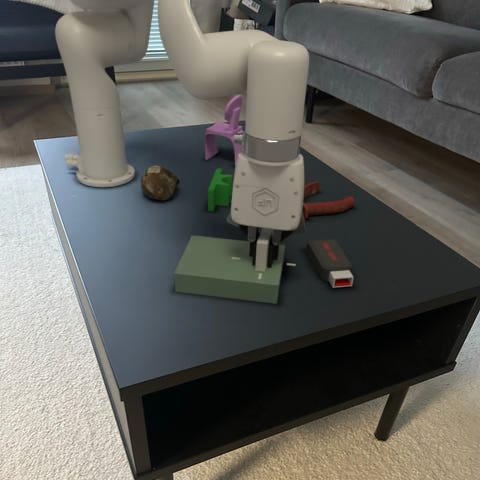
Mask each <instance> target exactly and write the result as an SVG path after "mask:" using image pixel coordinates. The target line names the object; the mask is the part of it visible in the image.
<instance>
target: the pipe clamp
mask: <svg viewBox="0 0 480 480" xmlns="http://www.w3.org/2000/svg"><path fill="white" fill-rule="evenodd" d="M232 190H233V175H232V174H225V173H224V174H223V168H221V167H220V168H219V167H217V168H216V169H215V171H214V174H213V176H212V179H211V182H210V184H209V186H208V189H207V211H208V212H214V211H215V208H216V206H223V207H229V206H230V198H232Z"/></svg>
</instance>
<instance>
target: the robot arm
mask: <svg viewBox="0 0 480 480" xmlns="http://www.w3.org/2000/svg"><path fill="white" fill-rule="evenodd" d="M70 2H71V3H72V4H73V5H74V6H75V7H78V8H79V9H82V10H78V11H72V12H68V13H66V14H64V15H62V16H61V17H60V18H59V19H58V20H57V22H56V25H55V28H54V35H55V41H56V44H57V48H58V51H59V54H60V58H61V61H62V63H63V67H64V70H65V75H66V78H67V83H68V88H69V93H70V100H71V104H72V111H73V116H74V123H75V128H76V134H77V141H78V147H79V153H78V154H75V153H65V155H64V160H65V164H66V166H67V167H76V168H77V171H76V173H75V174H76V179H77V180H78V182H80V183H81V184H82V185H85V186H89V187H94V188H111V187H112V188H113V187H118V186H122V185H125V184H127V183H129V182H131V181H132V180H133V179H134V178H135V176H136V170H135V168H134V167H133V166H132V165H131V164H128V162H127V154H126V153H127V152H126V143H125V134H124V124H123V115H122V106H121V98H120V92H119V89H118V86H117V84H116V82H114V81H113V79H112V78H111V77H110V76H109V75H108V73H107V71H106V68H110V67H115V66H122V65H123V66H124V65H131V64H135V63H138V62H141V61H142V60H143V59H144V58H145V56H146V54H147V52H148V48H149V43H150V35H151V29H152V23H153V22H152V21H153V16H154V15H153V14H154V7H155V0H70ZM157 23H158V24H157V25H158V31H159V36H160V40H161V43H162V47H163V49H164V51H165V53H166V56H167V58H168V61H169V62H170V65H171V67H172V69H173V71H174V74H175V76H176V78H177V80H178V82H179V84H180V85H181V86H182V87H183V89H184V91H186V92H187V93H188V94H189V95H190V96H191V97H193V98H195V99H198V100H201V101H203V100H204V101H208V100H215V99H219V98H225V97H230V96H234V95H235V96H236V95H246V101H245V102H246V103H245V124H244V127H245V128H244V130H243V133H242V132H241V133H235V136H234V143H239V144H240V145H242V147H243V150H242V151H241V152H240V153H239V154H238V158H237V162H236V166H235V167H234V173H233V180H232V196H231V201H230V204H231V205H230V211H229V212H228V213H229V214H228V215H227V217H226V222H227V223H228V224H231V225H233V226H234V227H236V228H239V230H240V231H242V233H243V234H244V236H246V237H247V241H249V242H250V250H249V257H253V261H252V265H255V264H256V249H257V241H258V239H259V236H260V233H261V232H260V231H259V230H260V229H262V228H267V229H273V235H272V237H271V240H270V243H269V247H268V259H267V266H268V267H272V264H273V260H277V259H278V254H279V245H281V243H282V242H283V241H284V240H286V239H287V238H289V237H290V236H291V235H299V234H302V233H305V232H306V230H307V222H306V219H304V215H303V212H302V208H303V203H304V200H303V198H304V185H305V162H304V156H303V155H302V153H300V151H301V150H300V149H301V140H302V131H303V121H304V115H305V114H304V113H305V103H306V96H307V85H308V76H309V68H310V53H309V51H308V49H307V48H306V46H304V45H303V44H301V43H298V42H295V41H289V40H280V39H278V38H277V37H275V36H273V35H272V34H269V33H268V32H266V31H263V30H260V29H242V30H227V31H217V32H216V31H215V32H209V33H208V32H207V33H203V32H202V30H201V28H200V26H199V23H198V21H197V19H196V17H195V14H194V12H193V9H192V6H191V3H190V0H157ZM304 199H305V198H304Z"/></svg>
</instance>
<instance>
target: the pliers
mask: <svg viewBox="0 0 480 480" xmlns="http://www.w3.org/2000/svg"><path fill="white" fill-rule="evenodd" d="M319 190H320V182H319V181H312V182H310V183H307V184H304V198H303V201H304V200H305V199H306V198H307V197H309V196H312V195H315V194H316V193H318V192H319ZM355 202H356V200H355V198H354V196H351V195H349V196H347V197H345V198H343V199H341V200H340V199H339V200H335V201H324V202H323V201H322V202H308V203H307V202H303V208H302V212H303V215H304V219H305V220H308V219H309V216H323V215H334V214H335V215H336V214H340V213H344V212H346V211H348V210H350V209H352V208H353V207H354V206H355Z"/></svg>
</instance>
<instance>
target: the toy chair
mask: <svg viewBox="0 0 480 480" xmlns="http://www.w3.org/2000/svg"><path fill="white" fill-rule="evenodd" d="M242 105H243V96H242V94H236V95H235V96H234V97H233V98H231V100H229V102H228V103H227V104H226V106H225V109H224V120H225V121H226V122H228V123H226V122H221V121H217V122H216V123H214V124H213V125H212V126H209V127H207V128H205V134H204V148H205V149H204V153H205V154H204V155H205V159H204V160H205V161H208V160H209V159H211V158H212V157H214V156H215V155H217V154H218V153H219V149H218V147H217V145H216V136H221V137H224V138H227V139H229V140H230V141H231V143H232V147H233V151H234V152H233V153H234V166H235V167H236V162H237V158H238V154H239V153H240V152H241V151H242V150H243V147H242V145H240V144H239V143H234V136H235V133H241V132H242V133H243V132H244V130H243V125H239V124H240V123H239V122H240V117H241V116H240V115H241V109H242Z"/></svg>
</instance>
